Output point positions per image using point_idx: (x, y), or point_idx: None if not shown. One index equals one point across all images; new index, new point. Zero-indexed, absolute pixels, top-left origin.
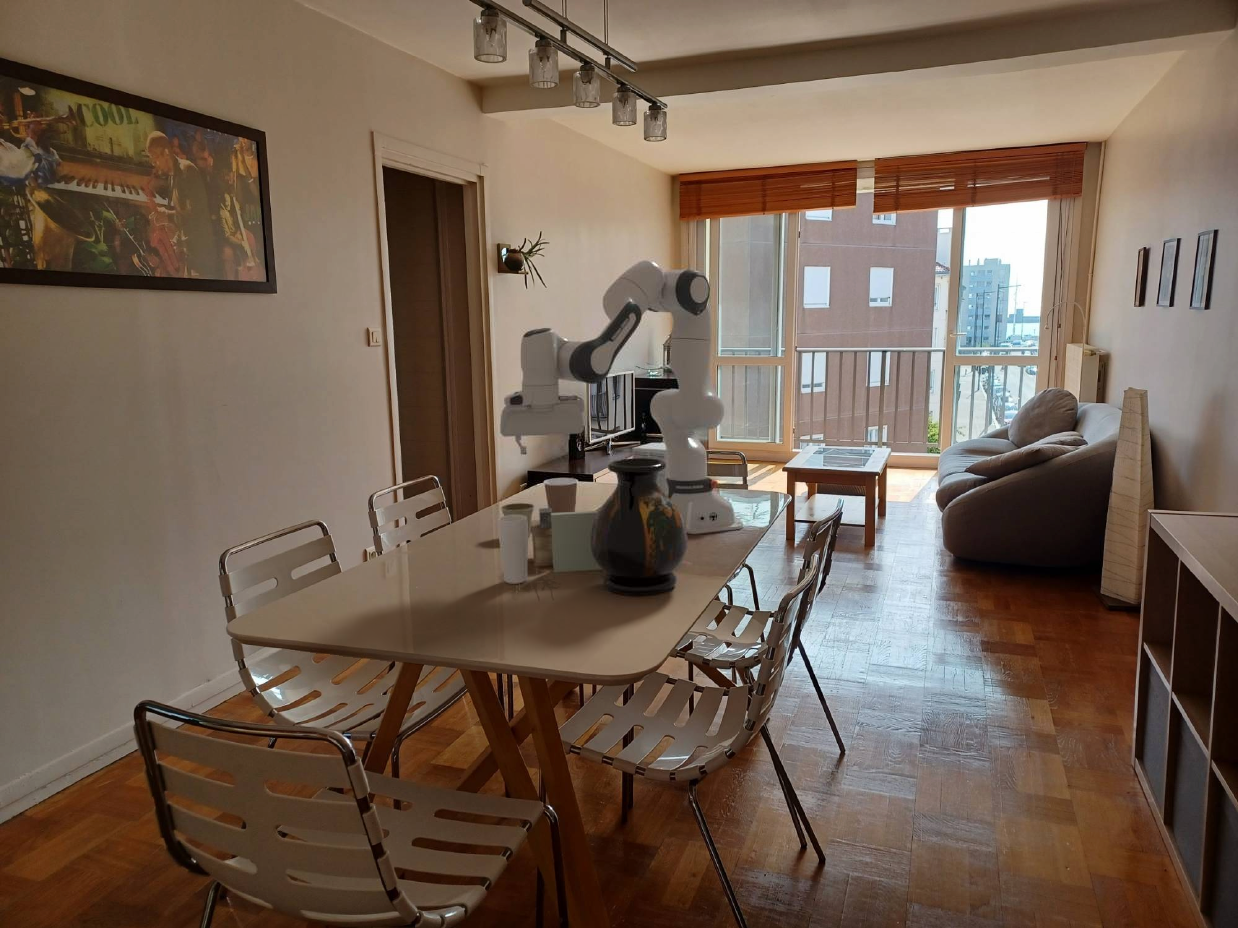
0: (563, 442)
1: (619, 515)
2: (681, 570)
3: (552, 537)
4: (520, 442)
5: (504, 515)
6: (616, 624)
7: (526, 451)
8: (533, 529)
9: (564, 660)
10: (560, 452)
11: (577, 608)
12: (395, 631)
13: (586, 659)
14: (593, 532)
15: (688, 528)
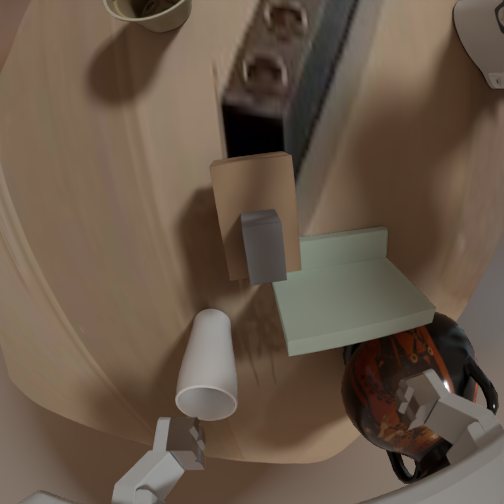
0: (447, 411)
1: (387, 452)
2: (445, 278)
3: (280, 321)
4: (153, 476)
5: (119, 10)
6: (332, 420)
7: (203, 444)
8: (230, 268)
9: (285, 457)
10: (398, 397)
11: (302, 399)
12: (137, 426)
13: (300, 455)
14: (352, 418)
15: (490, 75)
